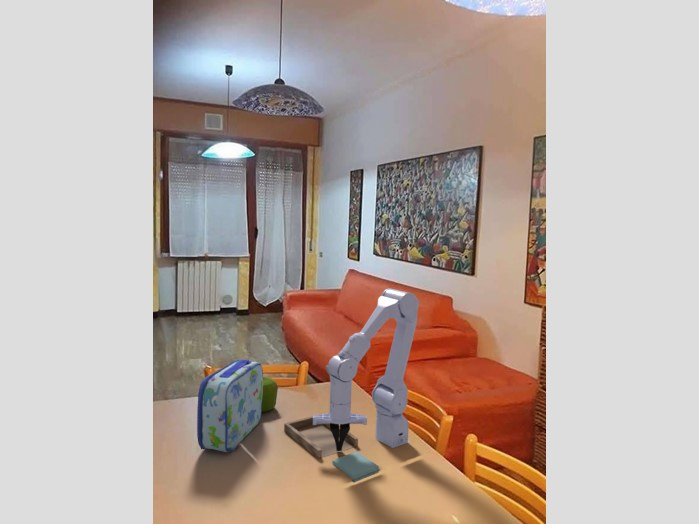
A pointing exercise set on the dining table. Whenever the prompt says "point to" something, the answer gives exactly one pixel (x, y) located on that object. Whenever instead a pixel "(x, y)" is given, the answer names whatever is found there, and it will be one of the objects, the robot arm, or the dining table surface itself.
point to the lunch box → (229, 405)
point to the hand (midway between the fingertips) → (338, 449)
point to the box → (317, 437)
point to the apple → (269, 394)
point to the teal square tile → (356, 466)
